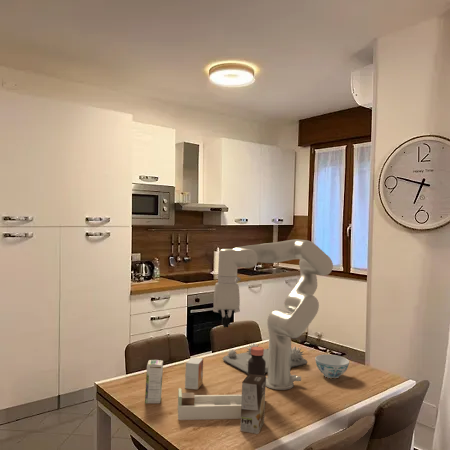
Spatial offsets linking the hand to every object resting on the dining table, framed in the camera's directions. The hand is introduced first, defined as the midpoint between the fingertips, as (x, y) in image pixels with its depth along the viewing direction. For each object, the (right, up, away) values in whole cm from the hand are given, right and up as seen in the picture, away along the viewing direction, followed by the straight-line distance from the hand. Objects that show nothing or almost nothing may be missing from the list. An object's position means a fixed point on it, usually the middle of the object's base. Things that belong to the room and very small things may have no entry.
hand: (225, 326), depth 167 cm
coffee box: (+9, -28, -25) cm, 38 cm away
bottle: (+12, -28, -3) cm, 30 cm away
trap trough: (-3, -27, -16) cm, 31 cm away
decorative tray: (+19, -28, +40) cm, 53 cm away
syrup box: (-27, -26, -7) cm, 39 cm away
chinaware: (+48, -29, +26) cm, 62 cm away
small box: (-13, -27, +9) cm, 31 cm away
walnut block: (-14, -24, -17) cm, 33 cm away
